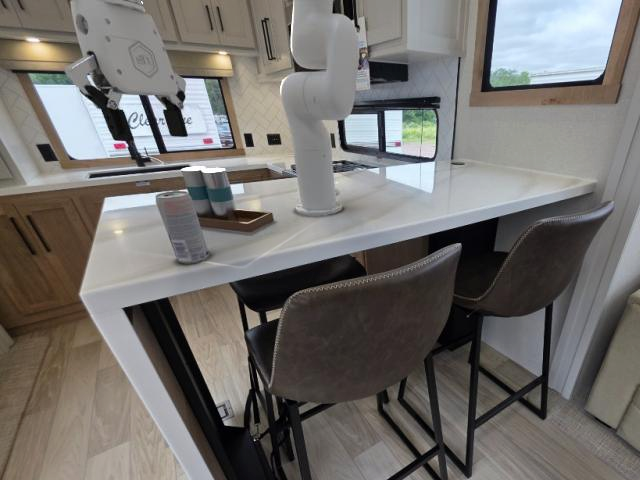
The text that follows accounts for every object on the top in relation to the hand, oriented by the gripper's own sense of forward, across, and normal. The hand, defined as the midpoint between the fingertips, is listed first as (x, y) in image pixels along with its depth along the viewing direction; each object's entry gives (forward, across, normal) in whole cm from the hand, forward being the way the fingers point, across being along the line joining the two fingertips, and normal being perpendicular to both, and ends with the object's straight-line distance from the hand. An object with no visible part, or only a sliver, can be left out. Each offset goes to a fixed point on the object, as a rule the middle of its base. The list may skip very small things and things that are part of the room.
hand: (153, 138), depth 52 cm
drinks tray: (+20, +19, +8) cm, 29 cm away
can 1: (+20, +19, +14) cm, 31 cm away
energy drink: (+21, 0, 0) cm, 21 cm away
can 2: (+20, +19, +8) cm, 29 cm away
